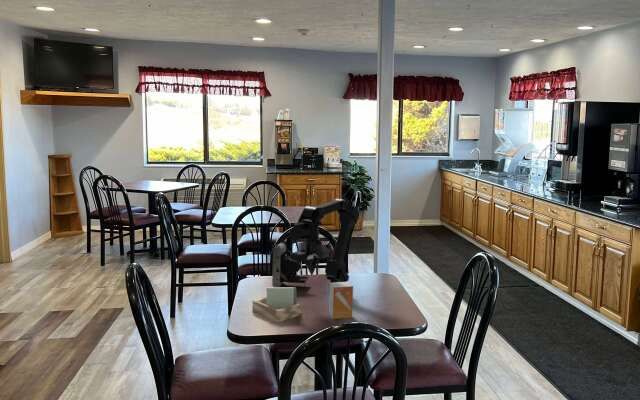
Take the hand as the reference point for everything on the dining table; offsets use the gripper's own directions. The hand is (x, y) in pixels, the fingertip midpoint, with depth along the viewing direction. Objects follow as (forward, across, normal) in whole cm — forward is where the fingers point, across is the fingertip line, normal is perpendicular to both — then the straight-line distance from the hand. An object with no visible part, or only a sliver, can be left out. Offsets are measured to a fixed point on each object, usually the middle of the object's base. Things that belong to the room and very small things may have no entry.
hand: (311, 273), depth 229 cm
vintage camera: (+13, +9, +23) cm, 28 cm away
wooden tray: (+13, -18, +1) cm, 22 cm away
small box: (+13, -2, -18) cm, 23 cm away
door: (+12, -17, -1) cm, 21 cm away
